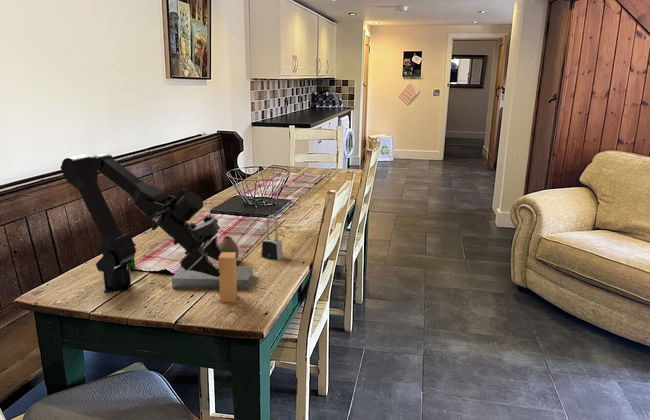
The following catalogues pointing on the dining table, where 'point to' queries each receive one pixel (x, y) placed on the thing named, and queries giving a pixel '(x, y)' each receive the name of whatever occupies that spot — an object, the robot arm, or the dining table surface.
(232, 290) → the peg
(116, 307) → the dining table surface
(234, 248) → the vase
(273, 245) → the padlock
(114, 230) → the robot arm
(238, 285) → the rail
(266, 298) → the dining table surface
